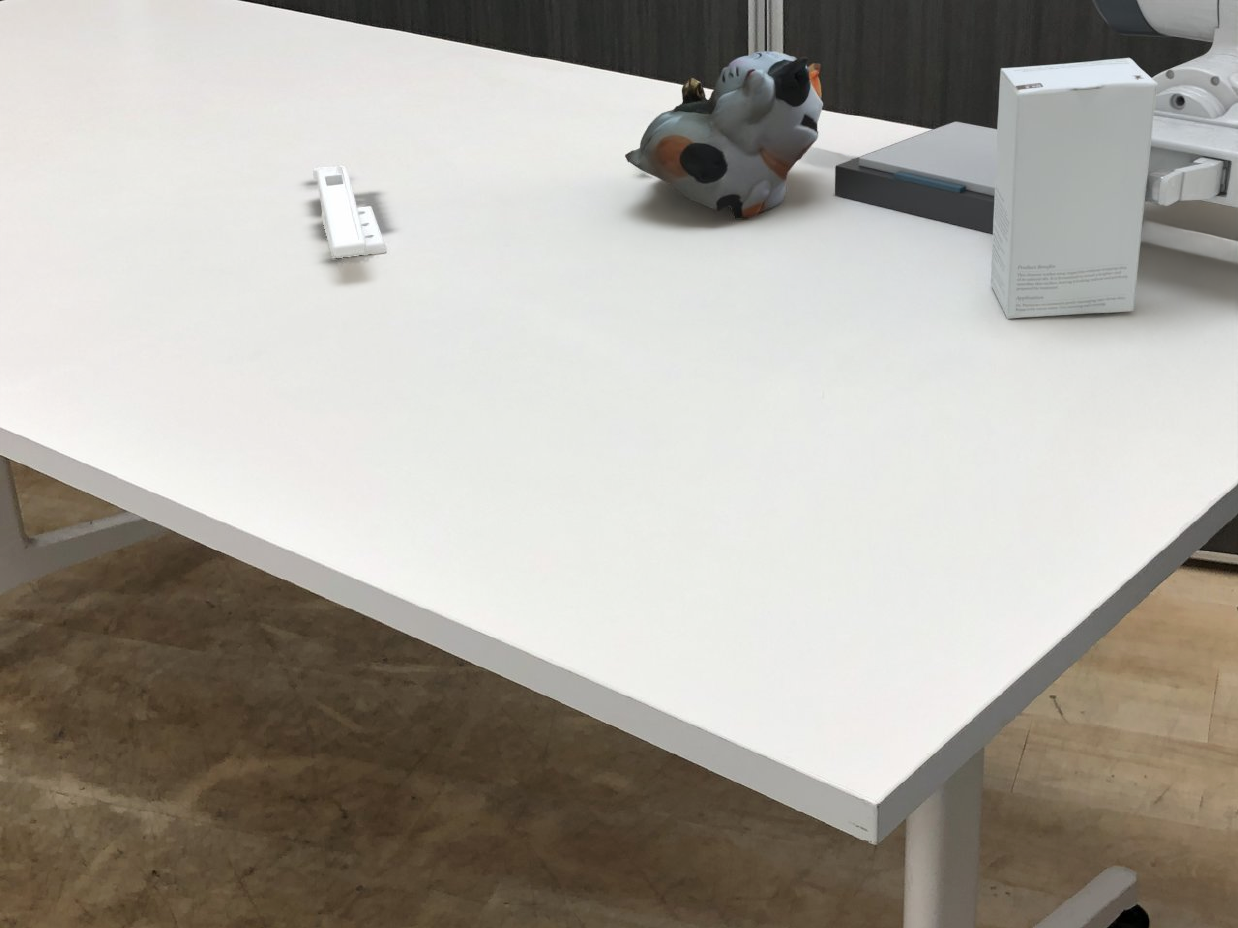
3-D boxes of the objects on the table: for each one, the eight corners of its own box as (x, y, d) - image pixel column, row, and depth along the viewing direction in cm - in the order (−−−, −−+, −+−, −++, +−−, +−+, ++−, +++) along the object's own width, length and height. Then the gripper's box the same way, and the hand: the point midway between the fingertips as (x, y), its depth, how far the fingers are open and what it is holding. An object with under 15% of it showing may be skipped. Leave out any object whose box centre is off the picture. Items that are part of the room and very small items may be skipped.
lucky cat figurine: (669, 165, 123) (746, 13, 118) (787, 236, 120) (871, 82, 115) (597, 164, 109) (680, -8, 104) (727, 243, 106) (819, 70, 101)
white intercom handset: (366, 195, 120) (357, 131, 117) (395, 277, 103) (386, 203, 100) (317, 201, 119) (307, 136, 116) (338, 285, 102) (327, 211, 99)
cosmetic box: (1110, 282, 95) (1137, 55, 88) (1136, 317, 90) (1166, 79, 83) (982, 287, 96) (998, 61, 89) (1000, 322, 91) (1019, 85, 83)
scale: (1127, 189, 112) (1132, 150, 111) (1021, 241, 103) (1025, 199, 102) (944, 151, 123) (947, 115, 122) (834, 195, 114) (835, 157, 113)
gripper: (1063, 61, 103) (951, 102, 95) (1357, 104, 89) (1257, 156, 81) (1055, 148, 106) (945, 195, 98) (1338, 202, 92) (1240, 261, 84)
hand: (1089, 178), depth 89 cm, fingers closed on cosmetic box, 7 cm apart
